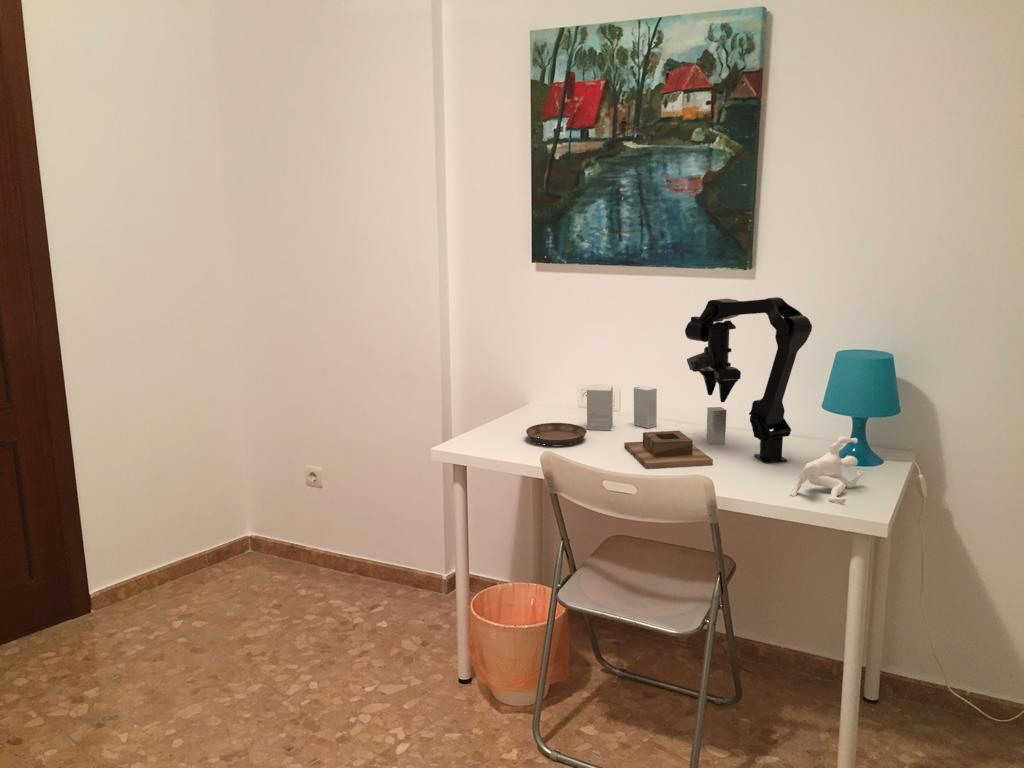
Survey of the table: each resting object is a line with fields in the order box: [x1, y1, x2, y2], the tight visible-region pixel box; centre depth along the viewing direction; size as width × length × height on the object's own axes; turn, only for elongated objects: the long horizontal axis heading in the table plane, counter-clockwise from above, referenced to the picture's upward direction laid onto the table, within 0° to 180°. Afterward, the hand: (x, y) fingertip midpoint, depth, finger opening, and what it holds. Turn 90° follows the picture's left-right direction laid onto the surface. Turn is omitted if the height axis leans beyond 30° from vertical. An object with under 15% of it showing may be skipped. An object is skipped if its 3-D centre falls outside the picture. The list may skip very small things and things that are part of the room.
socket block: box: [623, 430, 714, 470], centre depth 226 cm, size 20×18×6 cm
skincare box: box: [633, 385, 658, 429], centre depth 257 cm, size 6×4×12 cm
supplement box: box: [586, 384, 614, 431], centre depth 256 cm, size 7×7×13 cm
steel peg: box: [705, 406, 727, 446], centre depth 238 cm, size 4×4×10 cm
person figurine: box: [789, 436, 865, 504], centre depth 197 cm, size 13×13×18 cm
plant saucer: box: [525, 422, 588, 446], centre depth 244 cm, size 18×18×3 cm
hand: (716, 398), depth 237 cm, fingers open, 9 cm apart
